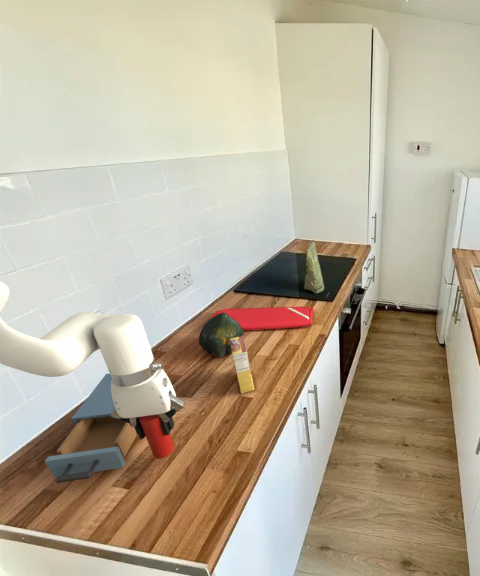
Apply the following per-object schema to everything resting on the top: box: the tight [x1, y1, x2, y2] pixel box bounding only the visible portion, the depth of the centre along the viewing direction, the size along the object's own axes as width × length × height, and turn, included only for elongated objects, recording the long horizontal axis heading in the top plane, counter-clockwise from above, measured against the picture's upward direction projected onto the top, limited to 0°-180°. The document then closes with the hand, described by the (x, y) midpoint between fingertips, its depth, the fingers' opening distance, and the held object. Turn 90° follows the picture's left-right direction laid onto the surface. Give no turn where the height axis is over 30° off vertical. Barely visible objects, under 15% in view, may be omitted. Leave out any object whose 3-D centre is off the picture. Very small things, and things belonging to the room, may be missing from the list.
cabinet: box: [71, 373, 115, 427], centre depth 90 cm, size 17×15×8 cm
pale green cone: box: [303, 239, 325, 294], centre depth 161 cm, size 11×12×25 cm
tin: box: [139, 414, 176, 460], centre depth 76 cm, size 4×4×12 cm
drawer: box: [44, 416, 138, 484], centre depth 78 cm, size 20×13×6 cm
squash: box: [198, 312, 245, 359], centre depth 117 cm, size 14×15×15 cm
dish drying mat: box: [209, 306, 315, 331], centre depth 136 cm, size 16×41×4 cm, turn 98°
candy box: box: [230, 336, 255, 395], centre depth 101 cm, size 9×4×15 cm, turn 28°
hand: (157, 431), depth 76 cm, fingers closed on tin, 4 cm apart
